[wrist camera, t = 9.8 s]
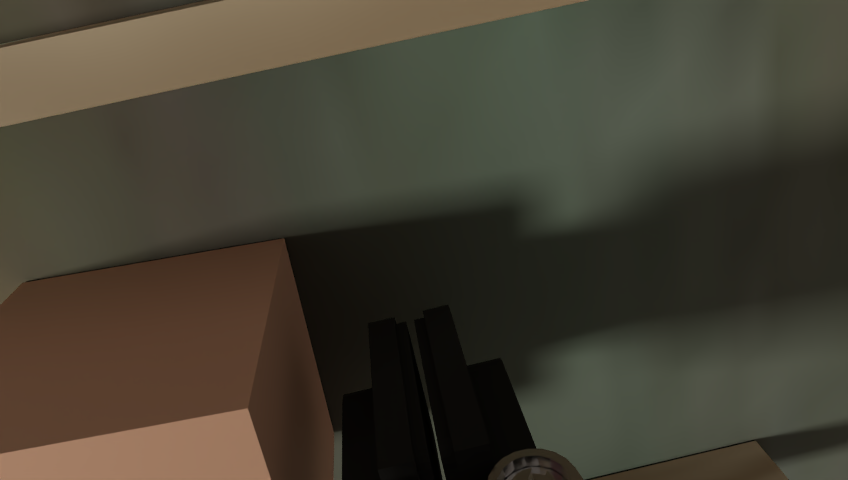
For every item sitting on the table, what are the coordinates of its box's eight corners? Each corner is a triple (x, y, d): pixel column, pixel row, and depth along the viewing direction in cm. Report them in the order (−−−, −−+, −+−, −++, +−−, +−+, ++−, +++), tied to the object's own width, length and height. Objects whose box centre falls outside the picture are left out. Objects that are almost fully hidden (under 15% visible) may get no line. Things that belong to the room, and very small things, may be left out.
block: (22, 282, 13) (-180, 486, 8) (284, 238, 13) (248, 409, 8) (114, 474, 15) (2, 724, 10) (333, 433, 15) (329, 658, 11)
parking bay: (36, 36, 11) (-64, 61, 8) (789, -124, 11) (929, -149, 9) (332, 698, 20) (330, 814, 17) (746, 597, 20) (807, 695, 18)
